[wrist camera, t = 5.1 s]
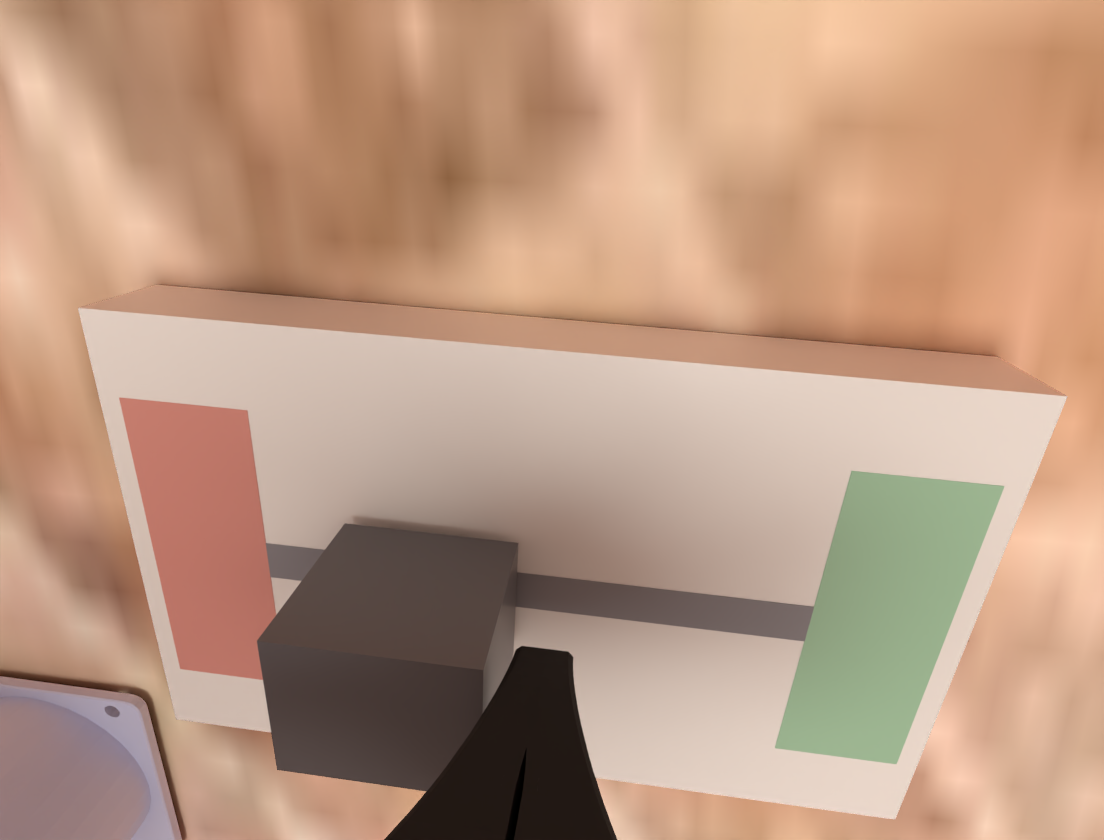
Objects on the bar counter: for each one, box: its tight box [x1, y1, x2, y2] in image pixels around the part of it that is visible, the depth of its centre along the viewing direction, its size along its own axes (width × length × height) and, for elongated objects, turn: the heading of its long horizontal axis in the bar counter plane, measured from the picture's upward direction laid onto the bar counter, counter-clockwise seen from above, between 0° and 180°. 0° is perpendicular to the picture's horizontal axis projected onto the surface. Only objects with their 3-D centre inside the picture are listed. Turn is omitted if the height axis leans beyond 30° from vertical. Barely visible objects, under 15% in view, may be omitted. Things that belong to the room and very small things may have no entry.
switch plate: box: [78, 285, 1067, 819], centre depth 16 cm, size 20×12×2 cm, turn 87°
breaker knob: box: [257, 523, 518, 791], centre depth 13 cm, size 4×3×4 cm
